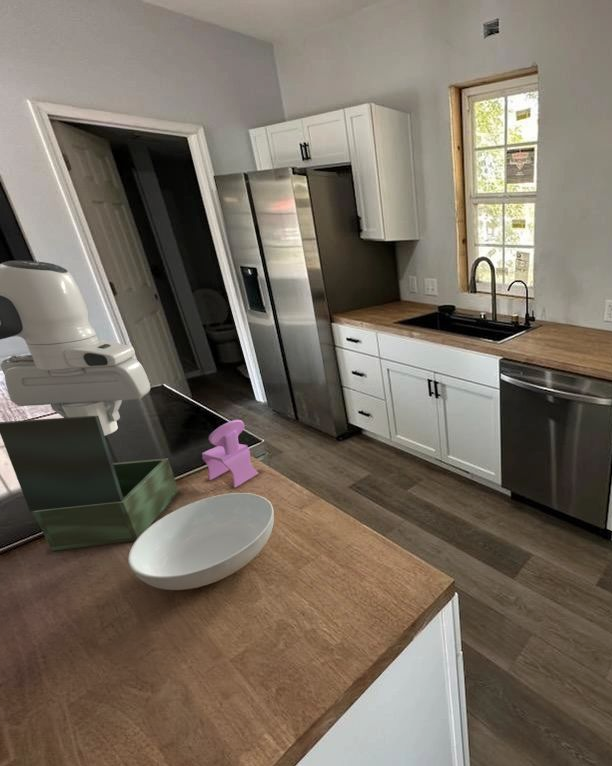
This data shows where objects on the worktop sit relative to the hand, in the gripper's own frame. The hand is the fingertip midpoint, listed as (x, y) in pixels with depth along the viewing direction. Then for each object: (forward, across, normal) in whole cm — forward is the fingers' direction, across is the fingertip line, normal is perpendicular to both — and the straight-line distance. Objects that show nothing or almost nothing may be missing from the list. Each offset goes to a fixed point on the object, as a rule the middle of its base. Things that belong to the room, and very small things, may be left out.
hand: (94, 421), depth 80 cm
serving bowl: (+21, +24, -20) cm, 37 cm away
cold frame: (+20, +1, -4) cm, 21 cm away
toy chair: (+21, +17, +8) cm, 28 cm away
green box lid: (+3, +1, -10) cm, 11 cm away
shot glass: (+2, 0, 0) cm, 2 cm away
